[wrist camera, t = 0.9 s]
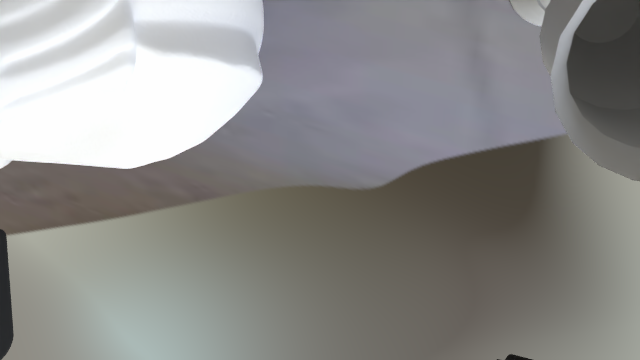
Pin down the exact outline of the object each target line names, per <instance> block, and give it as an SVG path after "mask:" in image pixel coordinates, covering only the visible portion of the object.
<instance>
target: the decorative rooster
mask: <svg viewBox="0 0 640 360" xmlns="http://www.w3.org/2000/svg"><path fill="white" fill-rule="evenodd" d="M263 30H264V12H263V2H262V0H0V168H2V167H4V166H6V165H7V164H9V163H10V162H11V161H12V160H16V161H30V162H45V163H62V164H75V165H88V166H99V167H111V168H124V169H129V168H135V167H139V166H142V165H146V164H149V163H153V162H156V161H160V160H164V159H168V158H171V157H173V156H175V155H177V154H179V153H181V152H183V151H185V150H187V149H189V148H192V147H194V146H196V145H198V144H200V143H202V142H203V141H205V140H206V139H207V138H209V137H210V136H211V135H212V134H213V133H214V132H216V131H217V130H218V129H219V128H220V127H221V126H223V125H224V124H225V123H226V122H227V121H228V120H230V119H231V118H232V117H233V116H234V115H235V114H236V113H237V112H238V111H239V110H240V109H241V108H242V107H243V106H244V104H245V103H246V102H247V101H248V100H249V99H250V98H251V97H252V95H253V94H254V93H255V92H256V91H257V90H258V88H259V87H260V85H261V82H262V79H263V74H262V69H261V65H260V61H259V57H258V54H259V50H260V47H261V43H262V38H263Z"/></svg>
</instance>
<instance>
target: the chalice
mask: <svg viewBox="0 0 640 360" xmlns="http://www.w3.org/2000/svg"><path fill="white" fill-rule="evenodd" d="M510 2H511V4H512V6H513V8H514V10H515V11H516V12H517V13H518V14H519V15H520V16H521V17H522V18H523V19H524V20H526V21H528V22H530V23H532V24H534V25H537V26H542V27H541V32H540V44H541V51H542V59H543V63H544V65H545V67H546V68H547V70H548V72H549V74H550V76H551V81H552V89H553V97H554V105H555V112H556V114H557V116H558V117H559V119H560V121H561V123H562V125H563V126H564V128H565V130H566V132H567V134H568V135H569V137H570V139H571V141H572V143H574V144H575V145H576V146H577V147H578V148H579V149H581V150H582V151H583V152H584V153H585V154H586V155H587V156H589V157H590V158H591V159H592V160H593V161H594V162H596V163H597V164H598V165H599V166H601V167H604V168H606V169H608V170H611V171H613V172H615V173H618V174H620V175H622V176H624V177H627V178H630V179H631V180H635V181H640V0H510Z"/></svg>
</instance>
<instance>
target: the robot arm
mask: <svg viewBox="0 0 640 360" xmlns="http://www.w3.org/2000/svg"><path fill="white" fill-rule="evenodd" d="M12 341H13V322H12V308H11V294H10V281H9V267H8V253H7V239H6V233H5V232H4V231H3V230H1V229H0V360H1V359H2V358H3V357H4V356H5V355H6V353H7V352H8V350H9V349H10V347H11V344H12ZM497 360H498V359H497ZM505 360H532V359H528V358H523V357H520V356H516V355H512V354H510V355H508V356H507V358H506V359H505Z"/></svg>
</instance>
